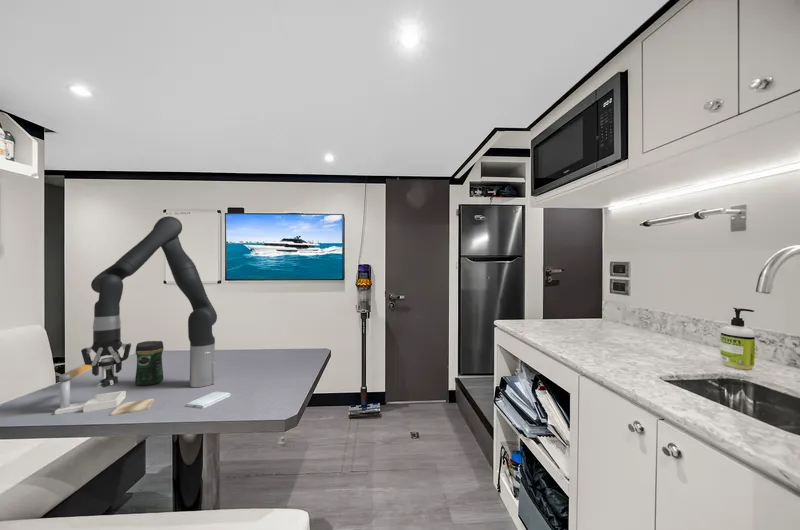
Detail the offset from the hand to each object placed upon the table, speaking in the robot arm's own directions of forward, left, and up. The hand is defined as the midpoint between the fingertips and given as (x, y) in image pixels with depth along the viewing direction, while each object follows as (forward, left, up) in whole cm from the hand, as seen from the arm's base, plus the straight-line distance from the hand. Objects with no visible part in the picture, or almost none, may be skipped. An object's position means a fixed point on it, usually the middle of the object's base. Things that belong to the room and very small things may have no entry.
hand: (107, 373), depth 117 cm
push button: (0, 0, -5) cm, 5 cm away
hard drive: (-33, +15, -12) cm, 38 cm away
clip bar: (+11, -8, -1) cm, 14 cm away
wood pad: (-10, +8, -11) cm, 17 cm away
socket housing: (+4, -1, -11) cm, 12 cm away
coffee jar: (-9, -23, -12) cm, 27 cm away
